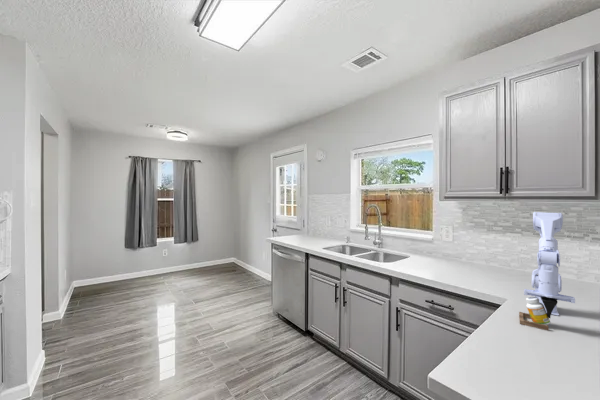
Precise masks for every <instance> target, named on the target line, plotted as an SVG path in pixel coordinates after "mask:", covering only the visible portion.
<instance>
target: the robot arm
mask: <svg viewBox="0 0 600 400" xmlns="http://www.w3.org/2000/svg"><path fill="white" fill-rule="evenodd" d="M563 219H564V215H563V213H562V212H544V211H534V212H532V225H533V230H534V231H536V232H538V234H539V236H540V238H539V239H538V251H537V254H536V258H537V260H536V263H537V267H538V268H536V269H533V270H532V271H531V272H532V273H531V287H532V288H533V289H527V288H524V289H523V295H524V296H530V297H538V299H539V302H540V303H542V304H543V305H544V308H545V310H546V313H547V316H548V318H549V319H551V317H552V315H554V316H560V314H559V312H558V309H557V308H558V301H562V302H568V303H571V304H576V297H575V296H570V295H566V294H562V293H561V292H562V286H563V285H562V284H563V281H562V275H561V274H560V273H559V267H560V266H561V254H560V251H559V247H558V240H557V239H556V238H555V237H554V236H555V234H557V233H560V232H561V230H562V228H563V224H564V220H563ZM557 265H558V266H557ZM560 293H561V294H560Z"/></svg>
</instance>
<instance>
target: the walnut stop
mask: <svg viewBox="0 0 600 400" xmlns="http://www.w3.org/2000/svg"><path fill="white" fill-rule="evenodd" d="M518 315H519V316H518V318H519V319H518V320H519V325H523V326H526V327H527V326H528V327H531V328H534V329H540V330H544V331H549V324H548V325H543V324H539V323H534V322H533V321H529V320H525V319H531V316H530V314H529V313H527V312H522V311H518ZM524 318H525V319H524ZM531 320H532V319H531Z"/></svg>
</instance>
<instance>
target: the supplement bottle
mask: <svg viewBox="0 0 600 400" xmlns="http://www.w3.org/2000/svg"><path fill="white" fill-rule="evenodd" d="M525 301H526V308H527V311H528V314H530V316H531V320H532V321H531V322H534V323H539V324H543V325H548V326H549V324H551V320H550V318H548V316H547V313H546V310H545V308H544V305H543V304H542V303H540V302H539V299H538V297H535V296H527V297H526V298H525Z"/></svg>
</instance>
